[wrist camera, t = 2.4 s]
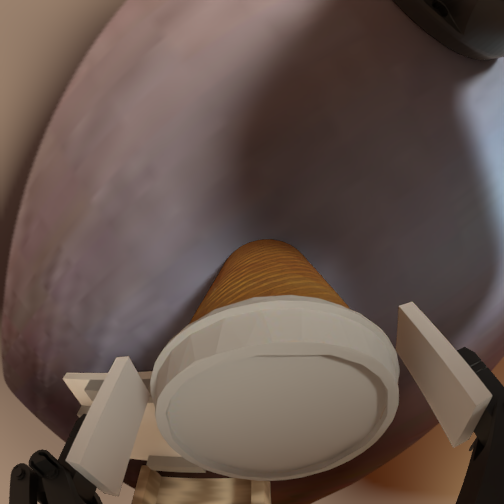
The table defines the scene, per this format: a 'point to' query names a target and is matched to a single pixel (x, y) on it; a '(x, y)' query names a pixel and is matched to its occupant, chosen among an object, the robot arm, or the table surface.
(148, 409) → the seat plate
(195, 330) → the disposable coffee cup
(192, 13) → the table surface
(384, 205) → the table surface
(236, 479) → the upright plywood slab
